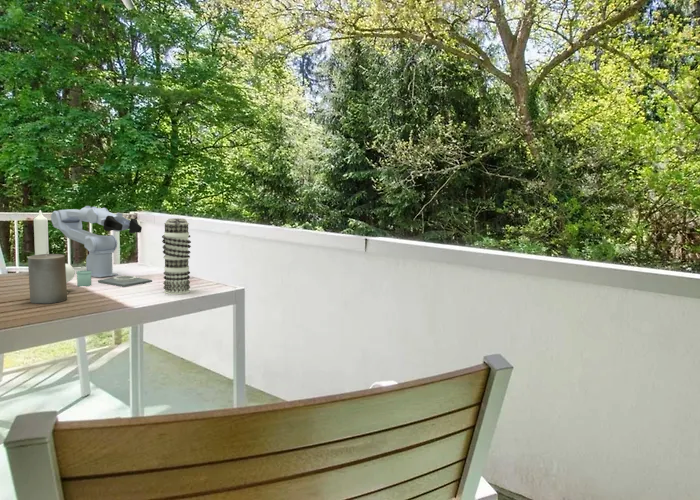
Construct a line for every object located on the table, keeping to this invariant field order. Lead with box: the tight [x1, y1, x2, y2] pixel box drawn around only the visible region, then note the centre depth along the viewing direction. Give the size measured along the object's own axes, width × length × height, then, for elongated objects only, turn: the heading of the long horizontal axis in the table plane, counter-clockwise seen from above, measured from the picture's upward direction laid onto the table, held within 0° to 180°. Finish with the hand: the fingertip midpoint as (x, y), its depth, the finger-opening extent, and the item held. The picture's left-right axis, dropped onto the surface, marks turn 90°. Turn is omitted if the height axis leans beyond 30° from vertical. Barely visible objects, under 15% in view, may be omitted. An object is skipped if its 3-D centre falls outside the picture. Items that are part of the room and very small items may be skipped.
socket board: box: [97, 275, 153, 288], centre depth 183 cm, size 14×12×2 cm
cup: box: [75, 269, 92, 287], centre depth 174 cm, size 5×5×5 cm
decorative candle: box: [161, 217, 192, 295], centre depth 168 cm, size 9×9×25 cm
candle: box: [33, 209, 50, 255], centre depth 189 cm, size 7×7×25 cm
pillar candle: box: [27, 252, 68, 304], centre depth 150 cm, size 10×10×15 cm
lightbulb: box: [65, 262, 76, 285], centre depth 162 cm, size 6×6×11 cm
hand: (131, 228), depth 181 cm, fingers open, 7 cm apart
